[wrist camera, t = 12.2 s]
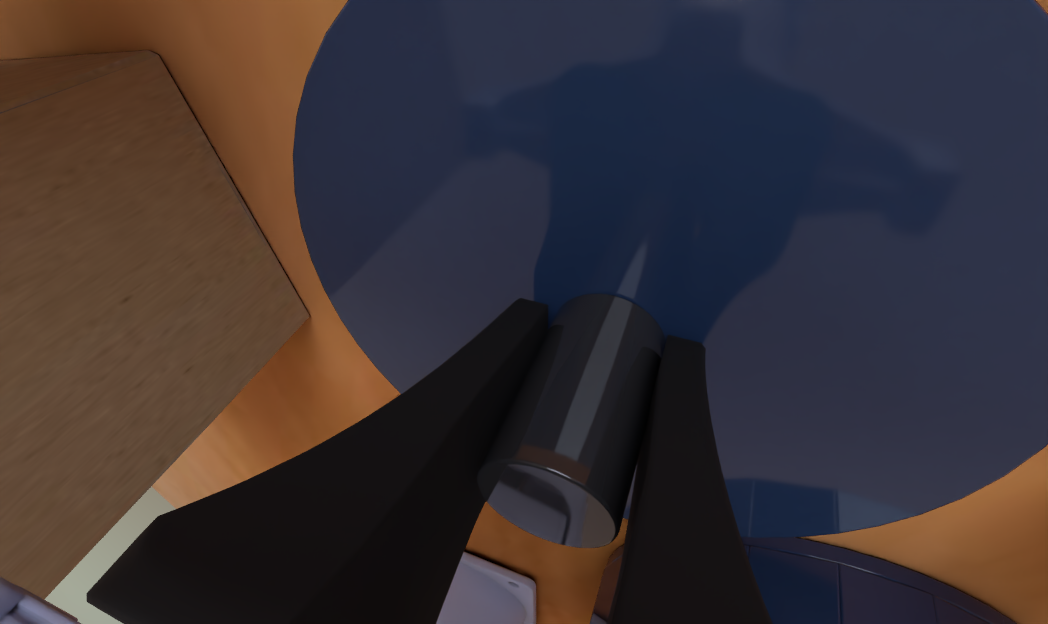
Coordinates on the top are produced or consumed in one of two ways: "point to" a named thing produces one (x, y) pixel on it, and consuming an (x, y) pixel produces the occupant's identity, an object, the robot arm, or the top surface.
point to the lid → (701, 236)
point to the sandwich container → (114, 298)
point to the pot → (835, 588)
